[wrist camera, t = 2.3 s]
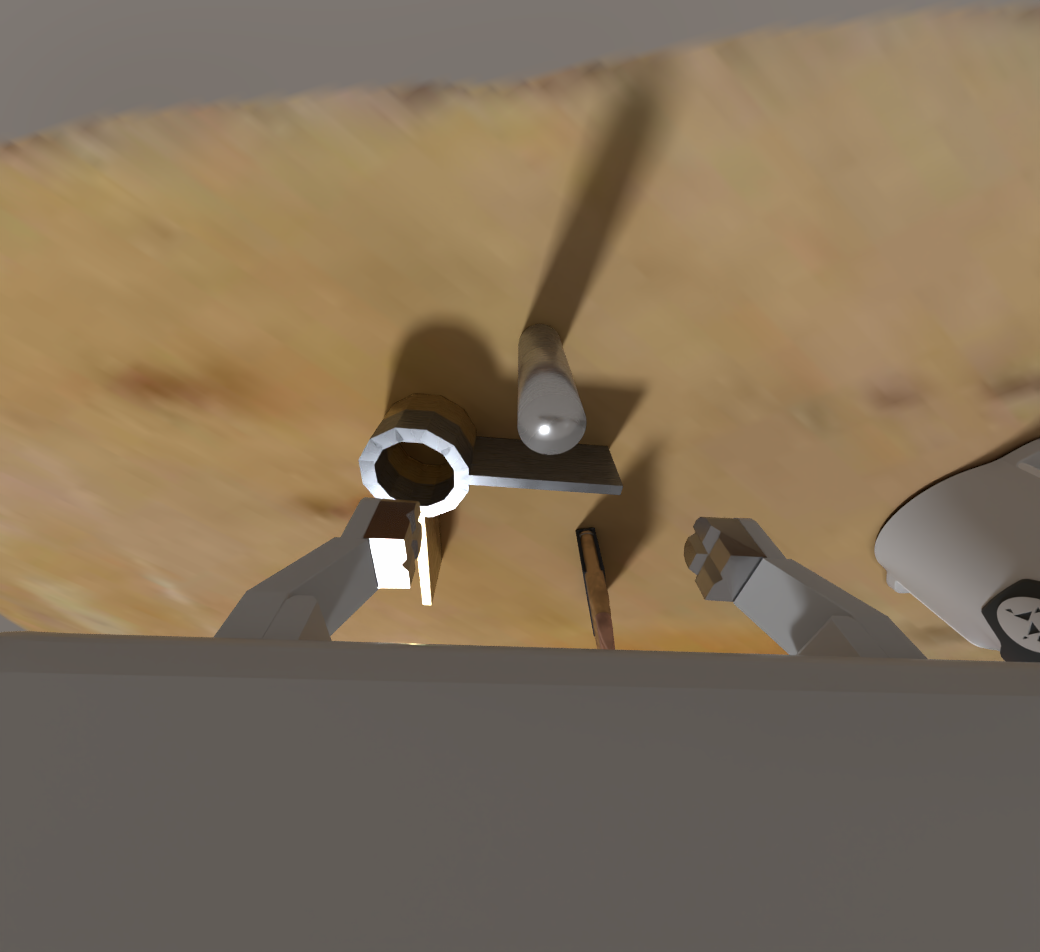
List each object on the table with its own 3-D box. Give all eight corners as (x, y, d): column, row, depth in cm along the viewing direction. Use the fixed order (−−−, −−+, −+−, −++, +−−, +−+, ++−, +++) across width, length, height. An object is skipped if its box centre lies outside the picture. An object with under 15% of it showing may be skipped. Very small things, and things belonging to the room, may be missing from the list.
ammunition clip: (575, 529, 36) (596, 646, 26) (594, 526, 36) (622, 643, 26) (586, 596, 42) (607, 711, 32) (603, 594, 42) (628, 709, 32)
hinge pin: (564, 325, 25) (592, 396, 15) (557, 369, 27) (579, 456, 17) (520, 321, 25) (520, 390, 15) (516, 365, 27) (514, 452, 17)
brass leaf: (477, 398, 28) (469, 433, 24) (473, 561, 39) (467, 607, 34) (378, 390, 28) (351, 424, 23) (402, 557, 38) (386, 603, 34)
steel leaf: (617, 409, 29) (635, 446, 24) (597, 485, 33) (609, 528, 28) (378, 390, 28) (351, 424, 23) (390, 471, 32) (368, 512, 28)
